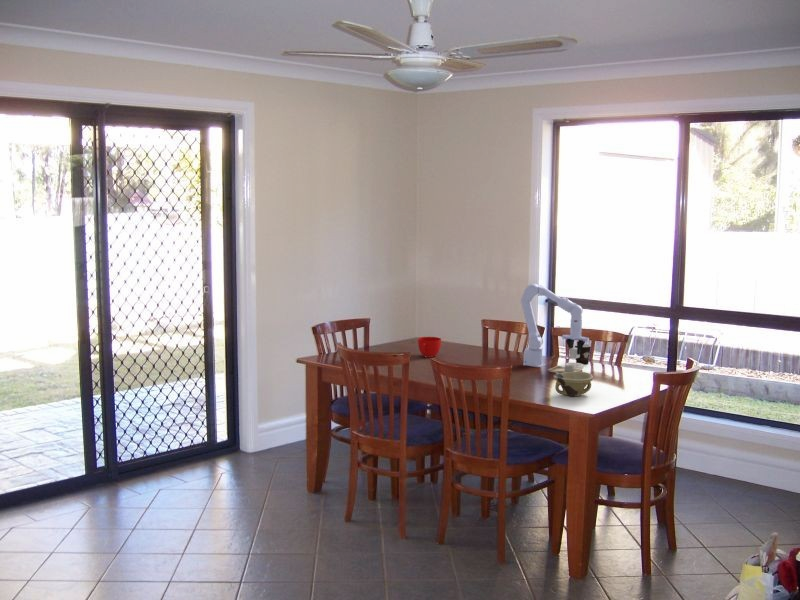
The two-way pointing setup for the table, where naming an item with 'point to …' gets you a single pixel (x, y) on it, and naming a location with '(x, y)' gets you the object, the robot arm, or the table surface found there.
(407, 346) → the table surface
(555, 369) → the tray
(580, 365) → the dish
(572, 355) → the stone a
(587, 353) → the coffee mug
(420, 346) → the ceramic cup
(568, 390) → the bowl
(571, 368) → the stone
